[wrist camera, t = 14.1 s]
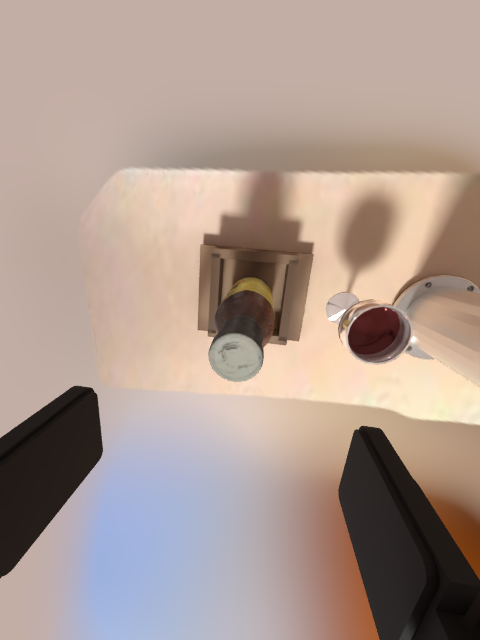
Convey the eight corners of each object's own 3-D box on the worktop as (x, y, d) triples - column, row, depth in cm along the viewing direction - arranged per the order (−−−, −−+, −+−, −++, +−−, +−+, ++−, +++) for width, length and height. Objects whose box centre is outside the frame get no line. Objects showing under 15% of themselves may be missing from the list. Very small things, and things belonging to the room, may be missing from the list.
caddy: (311, 254, 35) (318, 255, 31) (297, 337, 39) (302, 349, 34) (203, 244, 36) (194, 244, 32) (200, 326, 40) (192, 336, 35)
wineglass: (371, 322, 37) (419, 355, 25) (326, 335, 38) (353, 372, 27) (361, 280, 35) (407, 294, 24) (314, 294, 36) (338, 316, 25)
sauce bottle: (235, 271, 35) (200, 297, 16) (277, 281, 35) (291, 320, 16) (226, 313, 37) (186, 381, 18) (266, 322, 37) (267, 401, 18)
